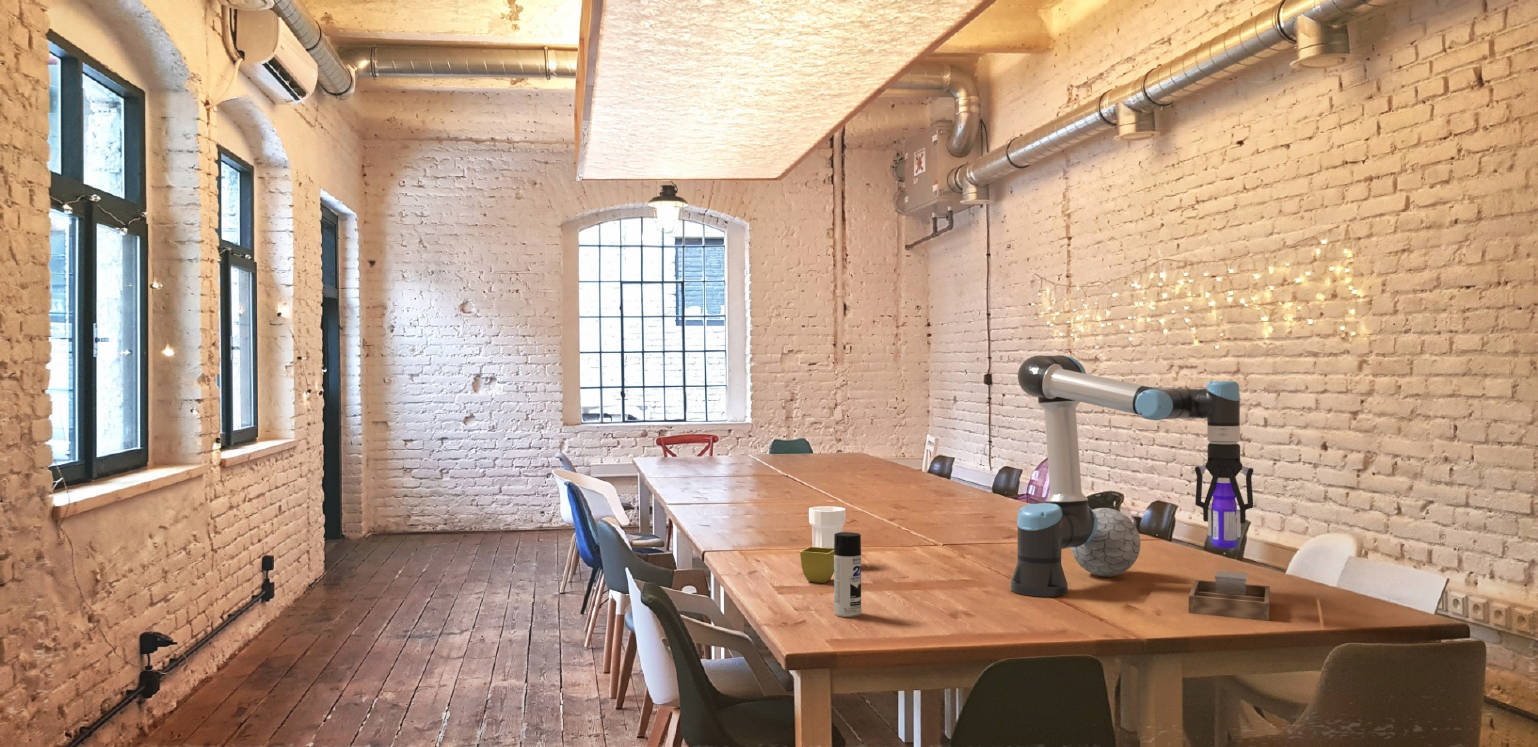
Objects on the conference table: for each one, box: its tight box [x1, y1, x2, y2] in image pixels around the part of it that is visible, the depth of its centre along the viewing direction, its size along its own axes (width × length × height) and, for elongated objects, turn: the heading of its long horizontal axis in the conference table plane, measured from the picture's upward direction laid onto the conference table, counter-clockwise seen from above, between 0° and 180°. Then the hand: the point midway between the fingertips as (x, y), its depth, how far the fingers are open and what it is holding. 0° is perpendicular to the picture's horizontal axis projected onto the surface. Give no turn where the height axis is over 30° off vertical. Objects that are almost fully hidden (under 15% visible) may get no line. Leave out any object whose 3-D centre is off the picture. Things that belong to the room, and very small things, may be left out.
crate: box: [1188, 579, 1271, 622], centre depth 270 cm, size 18×22×5 cm
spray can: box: [833, 531, 862, 618], centre depth 263 cm, size 7×7×20 cm
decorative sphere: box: [1070, 507, 1141, 578], centre depth 313 cm, size 20×20×20 cm
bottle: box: [1211, 478, 1238, 550], centre depth 266 cm, size 7×6×17 cm
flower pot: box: [799, 546, 834, 584], centre depth 303 cm, size 9×9×9 cm
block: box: [1214, 570, 1248, 596], centre depth 275 cm, size 7×8×7 cm
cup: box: [808, 505, 847, 548], centre depth 327 cm, size 11×11×17 cm
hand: (1224, 535), depth 266 cm, fingers closed on bottle, 6 cm apart
